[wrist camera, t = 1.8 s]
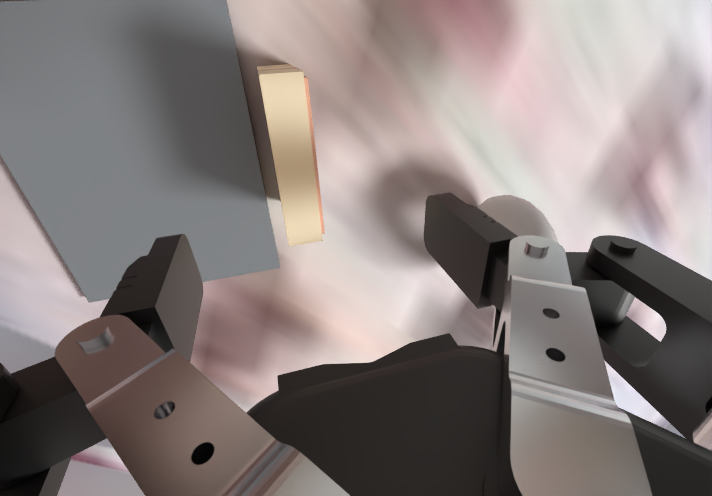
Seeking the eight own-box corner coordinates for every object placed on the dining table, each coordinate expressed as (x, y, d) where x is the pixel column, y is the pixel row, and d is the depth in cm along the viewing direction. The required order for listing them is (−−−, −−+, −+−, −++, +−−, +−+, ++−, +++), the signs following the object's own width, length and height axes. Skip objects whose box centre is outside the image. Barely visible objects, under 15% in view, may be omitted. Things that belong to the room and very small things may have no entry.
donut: (462, 180, 29) (547, 235, 21) (498, 174, 29) (594, 225, 21) (451, 275, 34) (515, 349, 26) (482, 268, 35) (554, 338, 26)
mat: (-81, 4, 16) (-91, 3, 16) (225, -4, 19) (224, -5, 18) (92, 297, 26) (89, 302, 25) (279, 263, 28) (279, 267, 28)
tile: (256, 66, 21) (258, 74, 15) (292, 63, 21) (307, 71, 16) (280, 200, 26) (289, 246, 20) (309, 196, 26) (326, 240, 20)
